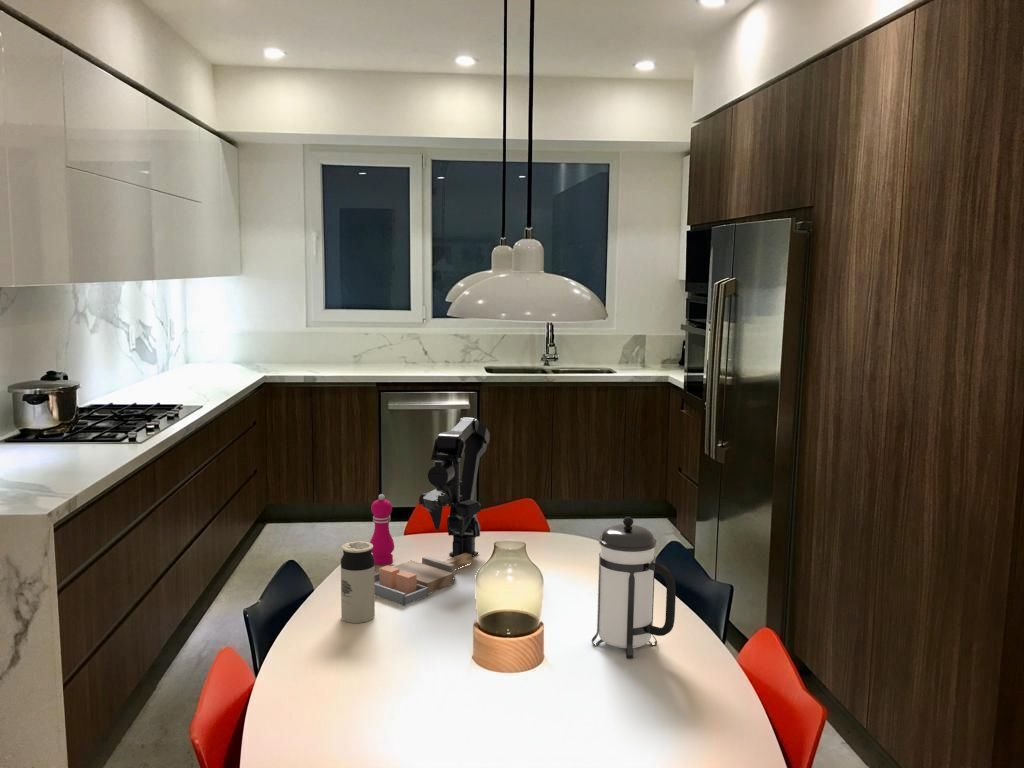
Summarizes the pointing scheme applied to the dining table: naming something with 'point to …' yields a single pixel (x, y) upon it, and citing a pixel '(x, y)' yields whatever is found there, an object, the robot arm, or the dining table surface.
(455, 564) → the scraper
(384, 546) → the pepper mill
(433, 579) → the board
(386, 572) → the tan square block
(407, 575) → the tile
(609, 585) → the coffee press
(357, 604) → the travel mug
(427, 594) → the box
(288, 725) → the dining table surface
